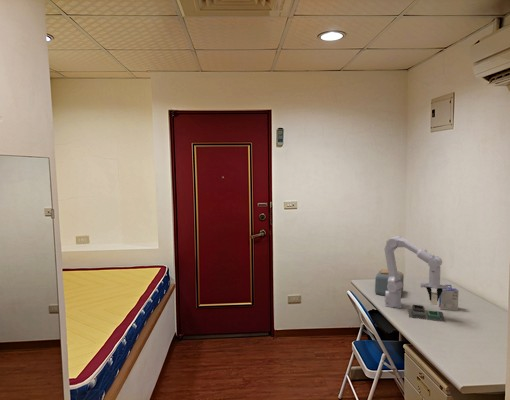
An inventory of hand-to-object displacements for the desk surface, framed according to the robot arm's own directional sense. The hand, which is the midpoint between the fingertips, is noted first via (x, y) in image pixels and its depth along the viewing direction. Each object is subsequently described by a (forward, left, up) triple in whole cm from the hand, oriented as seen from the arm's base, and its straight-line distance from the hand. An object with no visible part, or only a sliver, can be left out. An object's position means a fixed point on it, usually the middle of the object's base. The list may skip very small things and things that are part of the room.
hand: (433, 300), depth 209 cm
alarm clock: (-24, +32, -10) cm, 41 cm away
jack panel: (-4, 0, -10) cm, 10 cm away
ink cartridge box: (+10, +15, -10) cm, 21 cm away
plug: (0, 0, -2) cm, 2 cm away
